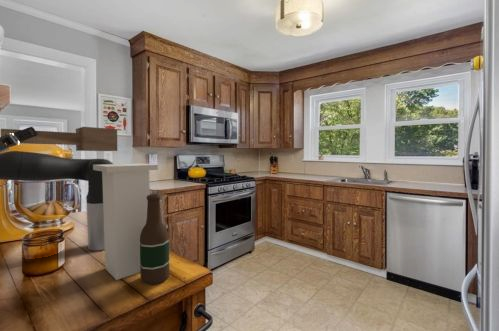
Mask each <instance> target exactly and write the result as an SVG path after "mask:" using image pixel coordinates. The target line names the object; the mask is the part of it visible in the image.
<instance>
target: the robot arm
mask: <svg viewBox="0 0 499 331" xmlns="http://www.w3.org/2000/svg"><path fill="white" fill-rule="evenodd" d="M20 130H21V131H18V132H16V133H14V134H13V133H9V134H6V135H5V136H3V137H1V136H0V180H4V181H6V180H7V181H26V182H39V181H53V180H79V181H87V186H88V187H87V189H88V190H87V195H86V197H85V198H86V218H87V219H86V222H87V224H86V226H87V250H88V251H93V252H95V251H105V244H104V213H103V181H102V171H97V170H93V165H104V164H114V163H113V162H112V161H110V160H109V159H106V158H105V159H104V158H67V157H62V156H56V155H52V154H48V153H47V154H46V153H40V152H34V151H33V152H32V151H21V150H10V148H11V147H15V146H18V145H20V144H21V143H20V142H22V141H24V140H27V139H29V138H32V137H34V136H36V135H37V132H36V131H37V130H36V129H35V128H34V127H33V126H28V127H26V128H23V129H20ZM3 139H6V140H7V141H8V143H4V142H3ZM9 150H10V151H9Z"/></svg>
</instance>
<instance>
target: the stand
mask: <svg viewBox="0 0 499 331" xmlns="http://www.w3.org/2000/svg"><path fill="white" fill-rule="evenodd" d="M158 167H159V165H158V164H154V163H153V164H152V163H151V164H150V163H141V162H139V163H113V164H104V165H93V170H97V171H102V181H103V213H104V244H105V250H104V266H105V268H104V269H105V270H106V271H107V272H108V273H109V274H110V275H111V276H112V277H113V278H114V279H115V280H116V281H117V280H120V279H124V278H126V277H131V276H133V275H136V274H138V273H140V234H141V231H142V229H143V227H144V226H145V224H146V220H147V204H148V200H147V199H146V198H147V195H150V194H151V192H150V171H156V170H157V171H158V170H159V168H158Z"/></svg>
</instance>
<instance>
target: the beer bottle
mask: <svg viewBox="0 0 499 331" xmlns="http://www.w3.org/2000/svg"><path fill="white" fill-rule="evenodd" d="M161 198H162V197H161V195H160V194H159V193H150V195H147V198H146V199H147V200H148V204H147V220H146V224H145V226H144V227H143V229H142V231H141V234H140V272H139V273H140V279H141V282H142V284H143V285H147V286H149V285H150V286H155V285H158V284H162V283H164V282H166V280H168V279H169V277H170V237H169V231H168V230H167V227H166V226H165V225H164V223H163V219H162V213H161V202H160V200H161Z"/></svg>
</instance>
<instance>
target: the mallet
mask: <svg viewBox="0 0 499 331" xmlns="http://www.w3.org/2000/svg"><path fill="white" fill-rule="evenodd" d="M21 130H22V129H15V128H1V129H0V137H3V136H5V135H6V134H9V133H13V134H14V133H16V132H18V131H21ZM35 131H36V132H37V135H36V136H34V137H32V138H29V139H27V140H24V141H22V142H20V143H19V144H28V145H29V144H30V145H31V144H32V145H33V144H34V145H61V146H62V145H64V146H67V145H68V146H75V151H76V152H77V151H79V152H86V151H87V152H117V151H118V129H117V128H105V127H91V126H81V127H77V128H75V132H66V131H47V130H35ZM3 142H4V143H5V144H6V143H8V141H7V140H6V139H3Z"/></svg>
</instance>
